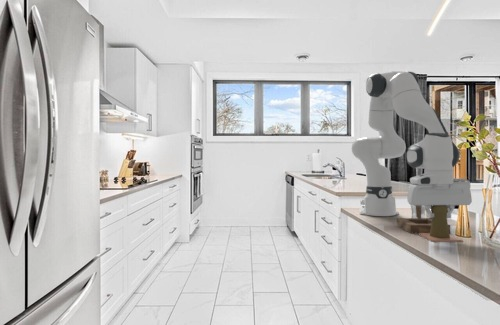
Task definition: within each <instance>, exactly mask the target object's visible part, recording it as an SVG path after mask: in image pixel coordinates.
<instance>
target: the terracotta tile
mask: <svg viewBox="0 0 500 325" xmlns="http://www.w3.org/2000/svg"><path fill="white" fill-rule="evenodd" d="M418 235H419V236H420V237H423V238H424V239H425V240H428V241H430V242H432V243H433V242H434V243H435V242H444V243H447V242H449V243H450V242H456V243H457V242H458V243H462V242H464V239H462V238H459V237H458V236H456V235H454V234H453V235H452V234H451V233H449V235H450V237H449V238H436V237H432V236H430V233H418Z"/></svg>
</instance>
